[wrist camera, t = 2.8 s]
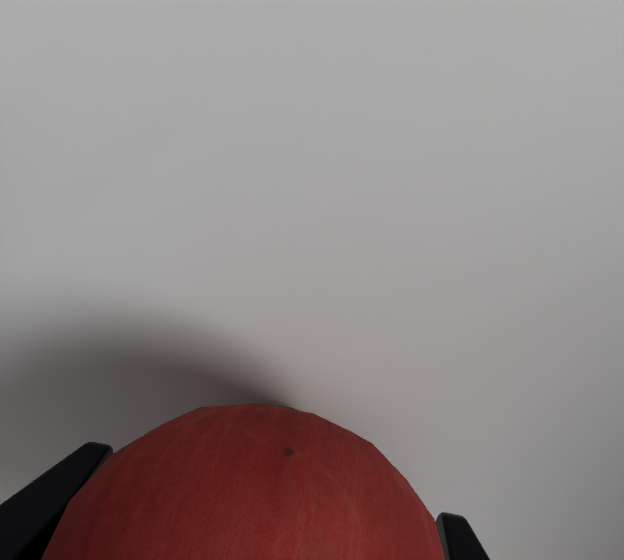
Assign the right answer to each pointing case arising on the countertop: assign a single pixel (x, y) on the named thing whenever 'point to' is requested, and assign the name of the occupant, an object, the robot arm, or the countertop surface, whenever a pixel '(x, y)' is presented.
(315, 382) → the countertop surface
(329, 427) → the onion
